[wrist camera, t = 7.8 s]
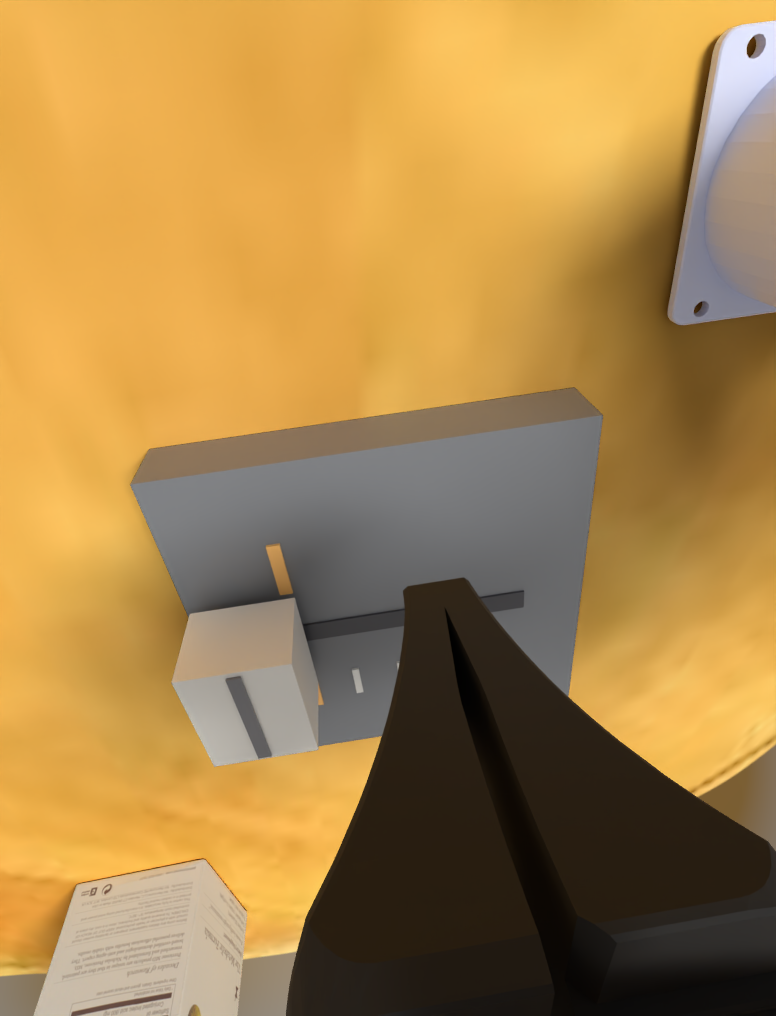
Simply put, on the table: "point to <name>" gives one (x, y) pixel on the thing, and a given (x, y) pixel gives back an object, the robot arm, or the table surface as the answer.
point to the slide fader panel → (386, 531)
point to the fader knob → (249, 682)
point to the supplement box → (149, 947)
